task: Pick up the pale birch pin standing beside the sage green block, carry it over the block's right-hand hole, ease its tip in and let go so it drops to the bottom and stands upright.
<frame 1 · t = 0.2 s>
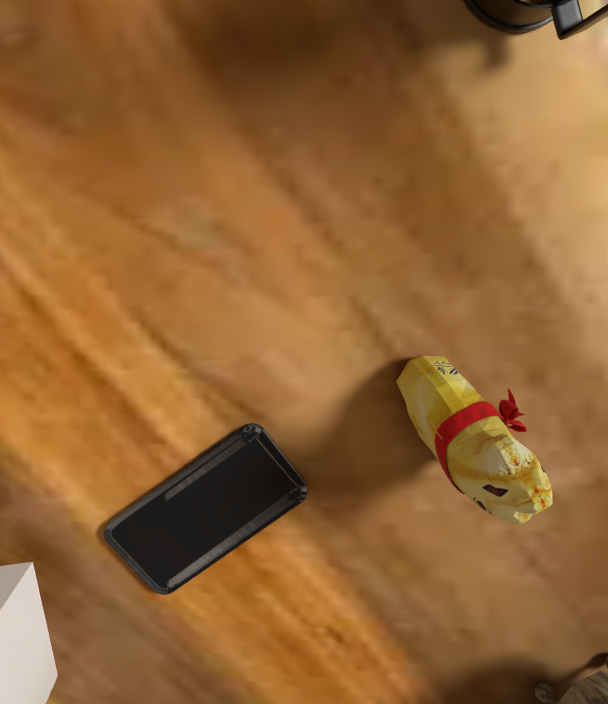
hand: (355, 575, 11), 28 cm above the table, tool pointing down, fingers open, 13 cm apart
tabletop clock: (554, 689, 48), on the table
chocolate bunny: (446, 405, 41), on the table
phone: (208, 504, 41), on the table
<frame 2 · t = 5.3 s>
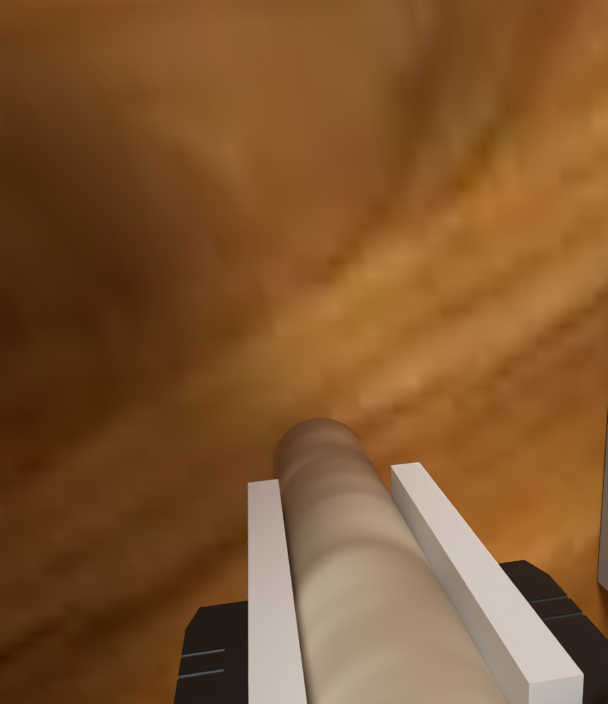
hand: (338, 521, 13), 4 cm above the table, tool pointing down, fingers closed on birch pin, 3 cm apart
birch pin: (319, 462, 16), on the table, touching gripper
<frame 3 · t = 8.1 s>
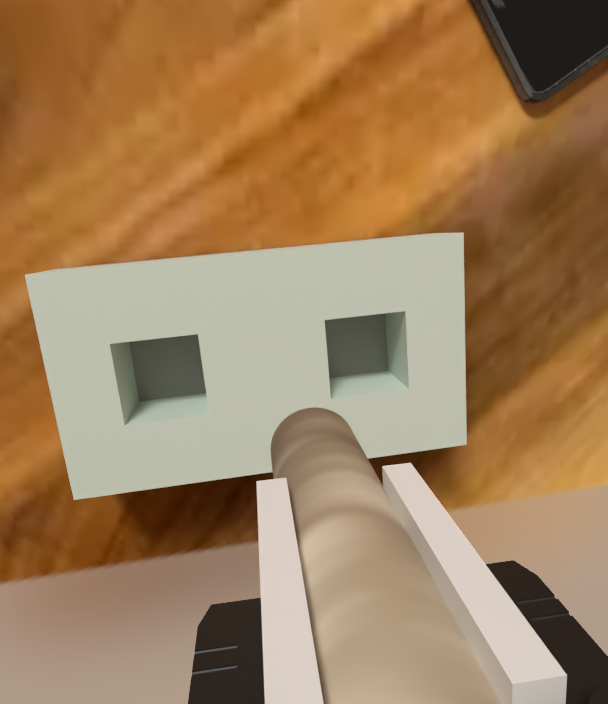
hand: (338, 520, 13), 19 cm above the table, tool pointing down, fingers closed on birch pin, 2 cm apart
birch pin: (313, 448, 18), point 15 cm above the table, touching gripper
hole block: (262, 347, 31), on the table
when the fingers open (7 cm above the table, at t = 11.2 s): birch pin stays where it is, resting on hole block.
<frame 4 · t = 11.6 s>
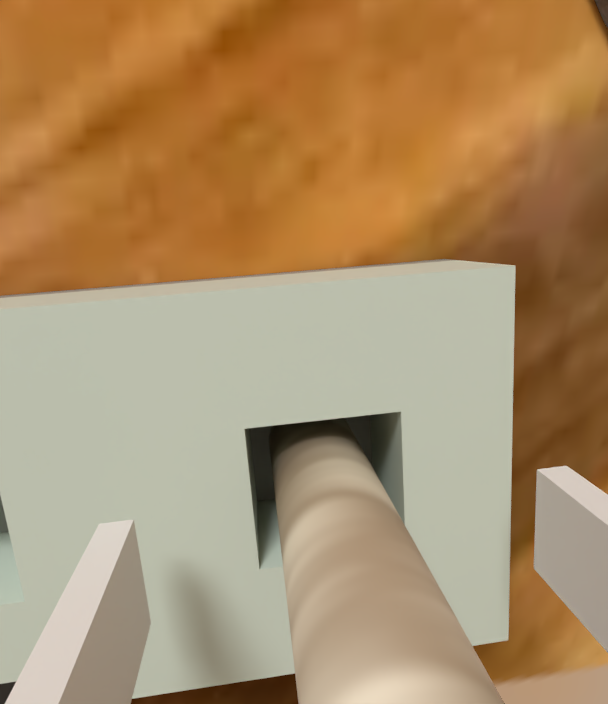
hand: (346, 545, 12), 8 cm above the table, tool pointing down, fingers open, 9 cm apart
birch pin: (310, 440, 18), point 1 cm above the table, touching hole block
hole block: (162, 445, 19), on the table
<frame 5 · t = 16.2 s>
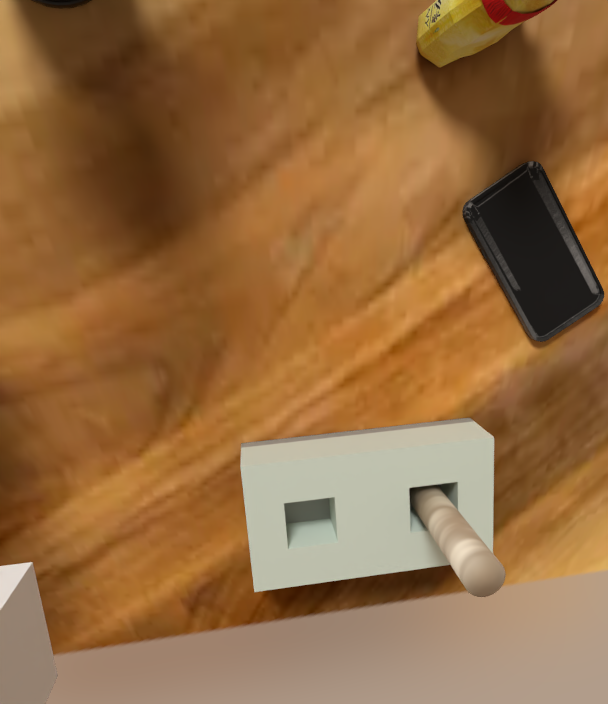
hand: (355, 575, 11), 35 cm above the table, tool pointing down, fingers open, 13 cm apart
birch pin: (418, 486, 48), point 1 cm above the table, touching hole block
hole block: (360, 488, 49), on the table
chocolate bunny: (467, 12, 41), on the table
phone: (529, 255, 46), on the table
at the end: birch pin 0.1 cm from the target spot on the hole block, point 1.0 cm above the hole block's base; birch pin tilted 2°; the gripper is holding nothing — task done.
